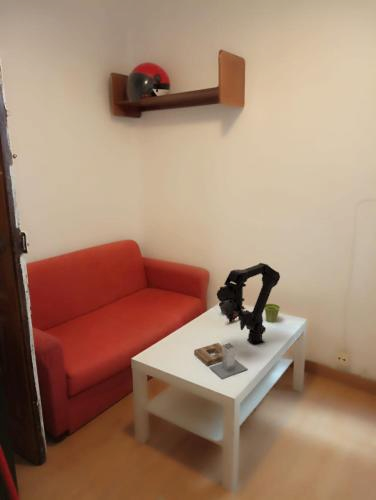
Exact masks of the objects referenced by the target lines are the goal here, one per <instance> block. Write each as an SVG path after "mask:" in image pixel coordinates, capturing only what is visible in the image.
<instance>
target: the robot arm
mask: <svg viewBox="0 0 376 500" xmlns="http://www.w3.org/2000/svg"><path fill="white" fill-rule="evenodd" d="M258 275H262V276H261V282H262V283H261V284H262V285H261V289H260V292H259V293H258V297H257V299H256V302H255V304H254V307H253V310H252V311H249V310H248V309H246V310H245V309H244V308H245V306H243V302H244V301H245V297H243V293H244V291H243V290H244V288H245V287H247V284H245V283H247V281H248V279H250V278H254V277H256V276H258ZM280 278H281V275H280V272H279V271H277V270H275V269H273V268H272V267H271V266H270V265H269V264H266V263H264V262H263V263H262V262H260V263H258V264H256V265H253V266H250V267H247V268H244V269H233V270H230V271H229V273H228V275H227V277H226V279H225V281H224V284H223V285H224V286H220V287H219V289H218V290H217V292H216V298H217V299H218V301H219V302H222V303H221V306H219V309H220V312H221V313H222V314H223V315H225V316H226V315H227V316H228V319H227V320H228V323H229V322H230V324H233V322H232V321H233V316H234V312H237V313H239V314H238V317H237V319H238V320H239V326H240V327H239V328H240V331H243V330H244V329H245V328H246V330H249V332H248V335H247V336H248V338H246V341H248V342H249V343H251V344H252V345H254V346H256V345H259V344H263V343H265V340H264V339H263V334H264V333H265V332H266V326H264V325H263V323H264V318H263V317H264V316H263V313H264V311H265V306H266V304H268V300H269V297H270V295H271V292H272V290H273V288H274V287H276V286H277V285H278V283H279V281H280ZM226 300H228V301H226ZM223 301H225V302H223ZM242 309H244V310H243V311H242Z"/></svg>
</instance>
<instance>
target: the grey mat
mask: <svg viewBox="0 0 376 500" xmlns="http://www.w3.org/2000/svg"><path fill="white" fill-rule="evenodd" d="M208 367H209V369H210V370H211V371H212V372H213V373H214V374H215V375H216V376H217V377H218V378H220V380H224V379H226V378H229V377H232V376H235V375H238V374H240V373H243V372H246V371H248V368H247V367H245V366H244V365H243V363H241V362H239V361H238V360H237V359H235V362H234V369H233V370H230V371H226V370H225V369H224V368H222V362H219V363H218V364H217V363H216V364H215V365H214V364H213V365H210V366H208Z"/></svg>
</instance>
